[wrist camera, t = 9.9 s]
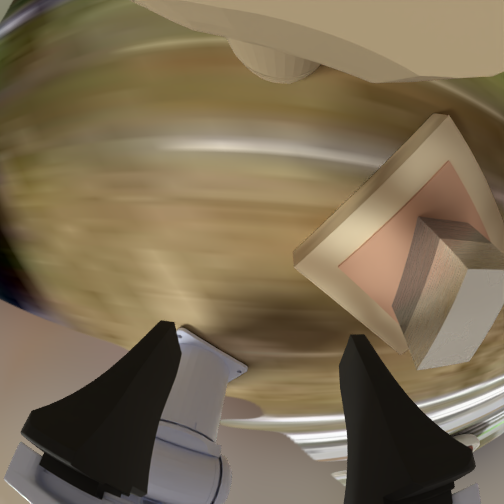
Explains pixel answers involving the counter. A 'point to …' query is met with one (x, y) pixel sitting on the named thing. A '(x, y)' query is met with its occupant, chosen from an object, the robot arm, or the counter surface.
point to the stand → (397, 224)
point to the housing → (448, 292)
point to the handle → (352, 36)
